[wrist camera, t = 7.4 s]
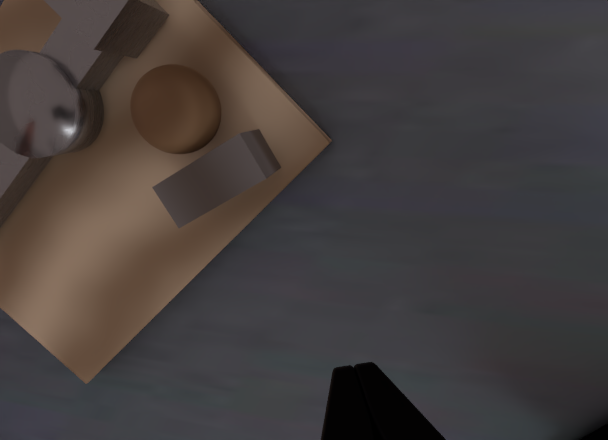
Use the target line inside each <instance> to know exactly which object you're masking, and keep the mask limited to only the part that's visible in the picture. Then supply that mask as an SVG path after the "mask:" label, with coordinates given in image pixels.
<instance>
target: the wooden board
mask: <svg viewBox="0 0 608 440" xmlns="http://www.w3.org/2000/svg"><path fill="white" fill-rule="evenodd" d="M155 1H156V2H157V3H158V4H159V5H160V6H161V7H162V8H163V9H164V10H165V11H166V12H167V13H168V14H169V16H168V18H167V19H166V20H165V22H164V23H163V24H162V26H161V27H160V28H159V30H158V31H157V33H156V34H155V35H154V37H153V38H152V39H151V41H150V42H149V43H148V45H147V46H146V47H145V49H144V50H143V51H142V53H141V54H140V55H139V57H138V58H137V59H136V58H132V57H127V56H124V57H123V58H122V60H121V61H120V63H119V64H118V65H117V67H116V68H115V69H114V71H113V72H112V73H111V75H110V76H109V78H108V79H107V80H106V82H105V83H104V84H103V86H102V87H101V88H100V90H99V91H100V93H101V96H102V100H103V105H104V120H103V125H102V128H101V131H100V133H99V135H98V137H97V138H96V140H95V141H94V142H93V143H92V144H91V145H90V146H88V147H87V148H85V149H84V150H81V151H79V152H74V153H68V154H62V155H55V156H53V157H52V159H51V160H50V162H49V163H48V164H47V166H46V167H45V168H44V170H43V171H42V172H41V174H40V175H39V176H38V178H37V179H36V181H35V182H34V183H33V185H32V186H31V187H30V189H29V190H28V191H27V193H26V194H25V195H24V197H23V198H22V200H21V201H20V202H19V204H18V205H17V206H16V208H15V209H14V210H13V212H12V213H11V214H10V216H9V217H8V219H7V220H6V221H5V223H4V224H3V225H2V227H1V228H0V308H1V309H3V310H4V311H5V312H6V313H7V314H8V315H9V316H10V317H12V318H13V319H14V320H15V321H16V322H17V323H18V324H19V325H21V326H22V327H23V328H24V329H25V330H26V331H27V332H28V333H29V334H31V335H32V336H33V337H34V338H35V339H36V340H37V341H38V342H40V343H41V344H42V345H43V346H44V347H45V348H46V349H47V350H49V351H50V352H51V353H52V354H53V355H54V356H55V357H56V358H58V359H59V360H60V361H61V362H62V363H63V364H64V365H65V366H67V367H68V368H69V369H70V370H71V371H72V372H73V373H74V374H76V375H77V376H78V377H79V378H80V379H81V380H82V381H83V382H85V383H86V384H87V383H88V382H89V381H90V380H91V379H92V378H93V377H94V376H95V375H96V374H97V373H98V372H99V371H100V370H101V369H102V368H103V367H104V366H105V365H106V364H107V363H108V362H109V361H110V360H111V359H112V358H113V357H114V356H115V355H116V354H117V353H118V352H119V351H121V350H122V349H123V348H124V347H125V346H126V345H127V344H128V343H129V342H130V341H131V340H132V339H133V338H134V337H135V336H136V335H137V334H138V333H139V332H140V331H141V330H142V329H143V328H144V327H145V326H146V325H147V324H148V323H149V322H150V321H151V320H152V319H153V318H154V317H155V316H156V315H157V314H158V313H159V312H160V311H161V310H162V309H163V308H164V307H165V306H166V305H167V304H168V303H169V302H170V301H171V300H172V299H173V298H174V297H175V296H176V295H177V294H178V293H179V292H180V291H181V290H182V289H183V288H184V287H185V286H186V285H187V284H188V283H189V282H190V281H191V280H192V279H193V278H194V277H195V276H196V275H197V274H198V273H199V272H200V271H201V270H202V269H203V268H204V267H205V266H206V265H207V264H208V263H209V262H210V261H211V260H212V259H213V258H214V257H215V256H216V255H217V254H218V253H219V252H220V251H221V250H222V249H223V248H224V247H225V246H226V245H227V244H228V243H229V242H230V241H231V240H232V239H233V238H235V237H236V236H237V235H238V234H239V233H240V232H241V231H242V230H243V229H244V228H245V227H246V226H247V225H248V224H249V223H250V222H251V221H252V220H253V219H254V218H255V217H256V216H257V215H258V214H259V213H260V212H261V211H262V210H263V209H264V208H265V207H266V206H267V205H268V204H269V203H270V202H271V201H272V200H273V199H274V198H275V197H276V196H277V195H278V194H279V193H280V192H281V191H282V190H283V189H284V188H285V187H286V186H287V185H288V184H289V183H290V182H291V181H292V180H293V179H294V178H295V177H296V176H297V175H298V174H299V173H300V172H301V171H302V170H303V169H304V168H305V167H306V166H307V165H308V164H309V163H310V162H311V161H312V160H313V159H314V158H315V157H316V156H317V155H318V154H319V153H320V152H321V151H322V150H323V149H324V148H325V147H326V146H327V145H328V144H329V143H330V142H331V141H332V140H331V139H330V138H329V137H328V136H327V135H326V134H325V133H324V132H323V131H322V130H321V129H320V128H319V126H318V125H317V124H316V123H315V122H314V121H313V120H312V119H311V118H310V117H309V116H308V115H307V114H306V113H305V112H304V111H303V110H302V109H301V108H300V107H299V106H298V105H297V104H296V102H295V101H294V100H293V99H292V98H291V97H290V96H289V95H288V94H287V93H286V92H285V91H284V90H283V89H282V88H281V87H280V86H279V85H278V84H277V83H276V82H275V81H274V80H273V79H272V77H271V76H270V75H269V74H268V73H267V72H266V71H265V70H264V69H263V68H262V67H261V66H260V65H259V64H258V63H257V62H256V61H255V60H254V59H253V58H252V57H251V56H250V55H249V53H248V52H247V51H246V50H245V49H244V48H243V47H242V46H241V45H240V44H239V43H238V42H237V41H236V40H235V39H234V38H233V37H232V36H231V35H230V34H229V33H228V32H227V31H226V30H225V28H224V27H223V26H222V25H221V24H220V23H219V22H218V21H217V20H216V19H215V18H214V17H213V16H212V15H211V14H210V13H209V12H208V11H207V10H206V9H205V8H204V7H203V6H202V4H201V3H200V2H199V1H198V0H155ZM61 19H62V18H61V17H60V16H59V15H58V14H57V13H56V12H55V11H54V10H53V9H52V8H51V7H50V6H49V5H48V4H47V3H46V2H45V1H44V0H4V1H3V3H2V5H1V6H0V54H1V53H3V52H5V51H9V50H26V51H32V52H39V53H40V51H41V50H42V48H43V47H44V45H45V43H46V42H47V40H48V39H49V37H50V36H51V34H52V33H53V31H54V30H55V28H56V27H57V25H58V24H59V22H60V21H61ZM167 64H177V65H183V66H187V67H190V68H192V69H194V70H196V71H198V72H199V73H201V74H202V75H203V76H204V77H206V78H207V79H208V80H209V81H210V83H211V84H212V85H213V87H214V88H215V90H216V92H217V94H218V97H219V99H220V103H221V122H220V126H219V129H218V131H217V133H216V135H215V136H214V138H213V139H212V140H211V141H210V142H209V143H208V144H207V145H206V146H205V147H203V148H201V149H200V150H198V151H195V152H192V153H188V154H171V153H166V152H163V151H161V150H159V149H157V148H155V147H153V146H152V145H150V144H149V143H148V142H147V141H146V140H145V139H144V138H143V137H142V136H141V135H140V133H139V132H138V130H137V129H136V127H135V125H134V122H133V119H132V116H131V109H130V102H131V96H132V92H133V90H134V88H135V86H136V84H137V82H138V81H139V79H140V78H141V77H142V76H143V75H144V74H146V73H147V72H148V71H150V70H151V69H153V68H156V67H158V66H162V65H167Z"/></svg>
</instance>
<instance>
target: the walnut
mask: <svg viewBox="0 0 608 440" xmlns="http://www.w3.org/2000/svg"><path fill="white" fill-rule="evenodd" d="M130 109H131V116H132V119H133V122H134V125H135V127H136V129H137V130H138V132H139V133H140V135H141V136H142V137H143V138H144V139H145V140H146V141H147V142H148V143H149V144H150V145H152V146H153V147H155V148H157V149H159V150H161V151H163V152H166V153H171V154H188V153H192V152H195V151H198V150H200V149H201V148H203V147H205V146H206V145H207V144H208V143H209V142H210V141H211V140H212V139H213V138H214V136H215V135H216V133H217V131H218V129H219V126H220V122H221V103H220V99H219V97H218V94H217V92H216V90H215V88H214V87H213V85H212V84H211V83H210V81H209V80H208V79H207V78H206V77H204V76H203V75H202V74H201V73H199V72H198V71H196V70H194V69H192V68H190V67H187V66H183V65H177V64H167V65H162V66H158V67H156V68H153V69H151V70H150V71H148V72H147V73H146V74H144V75H143V76H142V77H141V78H140V79H139V81H138V82H137V84H136V86H135V88H134V90H133V92H132V96H131V102H130Z"/></svg>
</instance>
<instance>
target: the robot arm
mask: <svg viewBox="0 0 608 440" xmlns="http://www.w3.org/2000/svg"><path fill="white" fill-rule="evenodd" d="M321 440H446V439H445V438H444V437H443V436H442V435H441V434H440V433H439V432H438V431H437V430H436V429H435V428H434V426H433V425H432V424H431V423H430V422H429V421H428V420H427V419H426V418H425V417H424V416H423V415H422V414H421V413H420V411H419V410H418V409H417V408H416V407H415V406H414V405H413V404H412V403H411V402H410V401H409V400H408V399H407V397H406V396H405V395H404V394H403V393H402V392H401V391H400V390H399V389H398V388H397V387H396V386H395V385H394V383H393V382H392V381H391V380H390V379H389V378H388V377H387V376H386V375H385V374H384V373H383V372H382V371H381V370H380V368H379V367H378V366H377V365H376V364H375V363H372V362H368V363H361V364H356V365H355V366H354V368H353V367H352V366H350V365H349V366H342V367H336V368H334V369H333V372H332V378H331V384H330V390H329V396H328V401H327V407H326V413H325V419H324V424H323V430H322V436H321ZM580 440H608V424H607V425H605V426H603V427H601V428H600V429H598V430H596V431H594V432H592V433H591V434H589V435H587V436H585V437H583V438H582V439H580Z"/></svg>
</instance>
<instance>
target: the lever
mask: <svg viewBox="0 0 608 440" xmlns="http://www.w3.org/2000/svg"><path fill="white" fill-rule="evenodd" d="M44 1H45V2H46V3H47V4H48V5H49V6H50V7H51V8H52V9H53V10H54V11H55V12H56V13H57V14H58V15H59V16H60V17H61V18H62V19H61V21H60V22H59V24H58V25H57V27H56V28H55V30H54V31H53V33H52V34H51V36H50V37H49V39H48V40H47V42H46V43H45V45H44V47H43V48H42V50H41V51H40V53H39V52H32V51H26V50H9V51H5V52H3V53H1V54H0V228H1V227H2V225H3V224H4V223H5V221H6V220H7V219H8V217H9V216H10V214H11V213H12V212H13V210H14V209H15V208H16V206H17V205H18V204H19V202H20V201H21V200H22V198H23V197H24V195H25V194H26V193H27V191H28V190H29V189H30V187H31V186H32V185H33V183H34V182H35V181H36V179H37V178H38V176H39V175H40V174H41V172H42V171H43V170H44V168H45V167H46V166H47V164H48V163H49V162H50V160H51V159H52V157H53V156H55V155H62V154H68V153H74V152H79V151H81V150H84V149H85V148H87V147H88V146H90V145H91V144H92V143H93V142H94V141H95V140H96V138H97V137H98V135H99V133H100V131H101V128H102V125H103V120H104V105H103V100H102V96H101V93H100V91H99V90H100V88H101V87H102V86H103V84H104V83H105V82H106V80H107V79H108V78H109V76H110V75H111V73H112V72H113V71H114V69H115V68H116V67H117V65H118V64H119V63H120V61H121V60H122V58H123V57H124V56H127V57H132V58H136V59H137V58H138V57H139V55H140V54H141V53H142V51H143V50H144V49H145V47H146V46H147V45H148V43H149V42H150V41H151V39H152V38H153V37H154V35H155V34H156V33H157V31H158V30H159V28H160V27H161V26H162V24H163V23H164V22H165V20H166V19H167V18H168V16H169V14H168V13H167V12H166V11H165V10H164V9H163V8H162V7H161V6H160V5H159V4H158V3H157V2H156V1H155V0H44Z"/></svg>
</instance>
